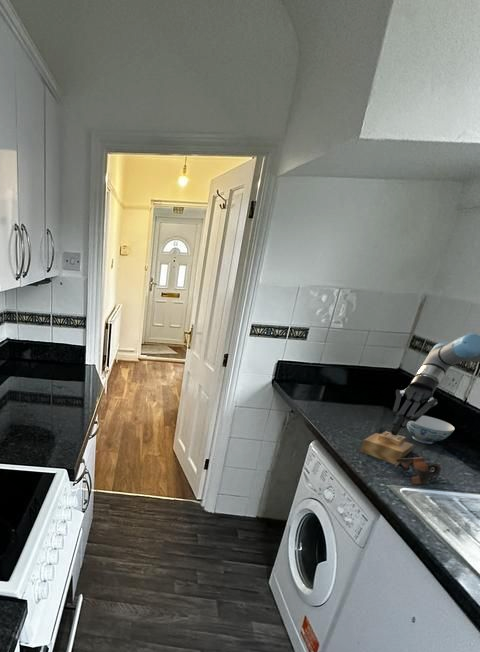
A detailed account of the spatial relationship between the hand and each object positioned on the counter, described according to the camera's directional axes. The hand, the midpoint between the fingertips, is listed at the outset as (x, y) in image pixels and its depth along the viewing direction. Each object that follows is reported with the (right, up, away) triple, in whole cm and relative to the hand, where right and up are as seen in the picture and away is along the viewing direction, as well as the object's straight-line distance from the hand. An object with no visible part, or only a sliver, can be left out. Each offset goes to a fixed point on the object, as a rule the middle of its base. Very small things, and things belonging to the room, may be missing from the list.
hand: (393, 432), depth 146 cm
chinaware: (+23, -3, +16) cm, 28 cm away
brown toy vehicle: (-3, -15, -13) cm, 20 cm away
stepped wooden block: (-2, -8, +2) cm, 8 cm away
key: (0, -3, +1) cm, 3 cm away
